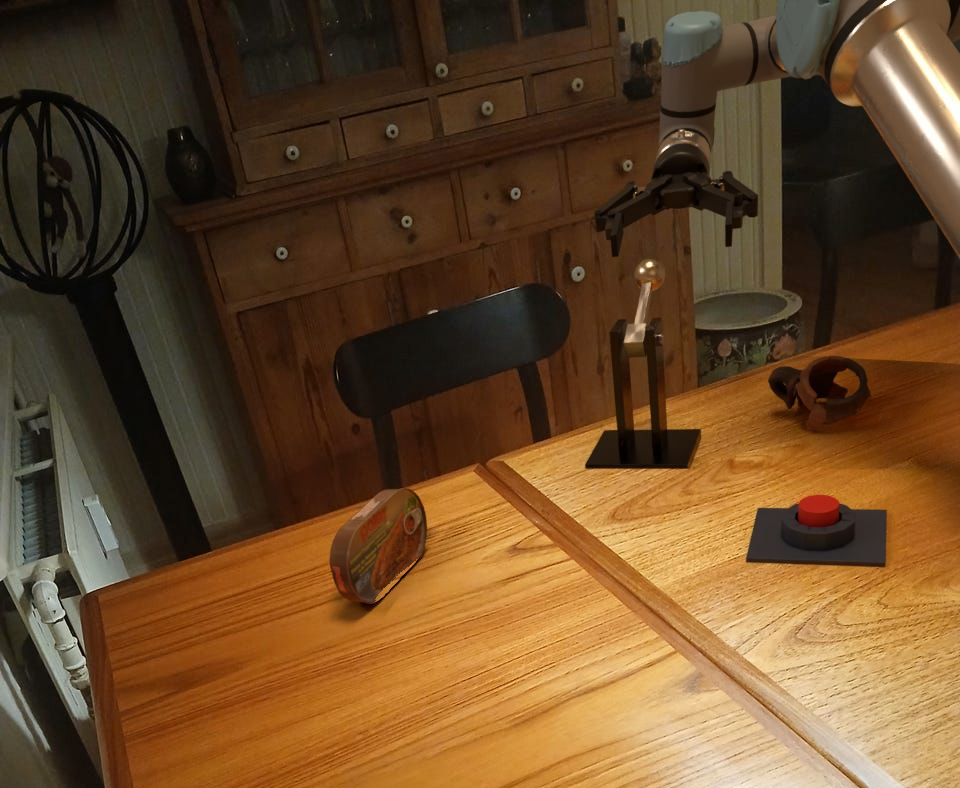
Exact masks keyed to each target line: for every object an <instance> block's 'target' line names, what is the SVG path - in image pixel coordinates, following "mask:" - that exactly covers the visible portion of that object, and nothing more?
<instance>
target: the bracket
mask: <svg viewBox="0 0 960 788" xmlns="http://www.w3.org/2000/svg"><path fill="white" fill-rule="evenodd" d="M662 320H663V319H662V317H661V316H658V317H652V319H651V320H650V322H649V324H648V325H647V329H646V331H645V333H646V350H647V355H646V363H647V364H646V365H647V381H648V383H647V384H648V397H649V413H650V415H649V416H650V429H635V422H634V421H635V420H634V406H633V393H632V379H631V363H630V358H627V356H626V351H625V347H624V338H625V333H626V328H627V324H628V319H627V318H619V319H617V320H616V322H615V323H614V325H612V327H611V329H610V330H609V332H608V333H609V339H608V345H609V348H610V357H611V358H610V359H611V370H612V381H613V395H614V406H615V408H614V409H615V420H616V421H615V422H616V429H604V430H603V431H602V433H601V435H600V437H599V439H598V440H597V442H596V444H595V446H594V448H593V450H592V451H591V453H590V455H589V456H588V459H587V460H586V462H585V464H584V469H585V470H690V468H691V466H692V463H693V461H694V458H695V456H696V452H697V450H698V447H699V445H700V442H701V439H702V429H701V428H677V429H676V428H673V429H672V428H670V429H668V418H667V417H668V414H667V399H666V398H667V397H666V394H667V393H666V378H665V375H666V374H665V357H664V355H665V354H664V345H665V333H664V332H663V321H662Z"/></svg>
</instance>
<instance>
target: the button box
mask: <svg viewBox="0 0 960 788" xmlns="http://www.w3.org/2000/svg"><path fill="white" fill-rule="evenodd" d="M839 504H840V505H839V520H838V522H837V524H835V525H832V526H827V527H808V526H805V525H802V524H800V523H799V522H798V505H799V502H798V503H794V504H792V505H791V506H789V507H757V509H756V514H755V518H754V523H753V526H752V532H751V535H750V539H749V544H748V547H747V553H746V557H745V563H754V564H755V563H756V564H783V565H785V564H786V565H813V566H840V567H841V566H842V567H843V566H844V567H845V566H847V567H870V568H871V567H873V568H885V567H886V562H887V561H886V560H887V559H886V557H887V515H888V510H887V509H874V508H873V509H872V508H871V509H869V508H868V509H867V508H864V509H862V508H861V509H860V508H851V507H849V506H848V505H846V504H844V503H840V502H839Z"/></svg>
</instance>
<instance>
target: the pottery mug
mask: <svg viewBox="0 0 960 788" xmlns="http://www.w3.org/2000/svg"><path fill="white" fill-rule="evenodd" d="M846 370H850V371H851V372H853V373H854V374H855V376H856V377H857V378H858V380H859V387H858V388H857V390H856V391H855V392H854V393H852V394H851V395H848V396H847V394H848V392H849V389H848V388H847V387H845V386H843V385H841V384H839V383H837V382H835V378H836V376H837V375H838V374H839V373H842V372H845V371H846ZM868 382H869V379H868V375H867V373H866V370H865V368H864V367H863V366H862V365H861V364H860V363H859V362H857V361H855V360H853V359H851V358H848V357H844V356H840V355H829V356H828V355H827V356H826V355H825V356H822V357H819V358H816V359H814V360H813V361H811V362H810V363H809V364H808V365H807V366H806V367H805V368H804V369H798V368H795V367H792V366H789V365H788V366H787V365H786V366H785V365H781V366H778V367H776V368H773V370H772V371H771V373H770V375H769V377H768V380H767V383H768V385H769V388H770V390H771V392H772V393H773V394H774V395H775V396H776V397H777V398H779V399H780V400H781V401H783V402H784V404H785V406H786V408H787V410H792V408H793V407H794V406H795V404H796V400H797V407H798V408H802V407H803V406H805V407H806V408H807V410H809V411H810V413H809V417H808V419H807V420H806V422H805V423H806V428H808V429H810V430H812V431H813V432H820V430H821V429H823V428H824V426H830V425H832V424H836V423H839V422H841V421H844V420H847V419H849V418H851V417H853V416H855V415H857V414H858V410H862V409H863V407H864V406H865V405H866V403H867V401H868V399H870V398H871V397H872V394H871V390H870V388H869V385H868ZM819 399H825V405H823V404H820V403H819V402H817V400H819Z"/></svg>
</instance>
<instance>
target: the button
mask: <svg viewBox="0 0 960 788" xmlns="http://www.w3.org/2000/svg"><path fill="white" fill-rule="evenodd" d="M798 503H799V505H798V522H799V523H800V524H802V525H805V526H808V527H827V526H832V525H835V524H837V522H838V520H839V505H840V504H841V503H840V501H839V500H838V499H837V498H836V497H834V496H831V495H829V494H828V495H827V494H812V495H807V496H805V497H803V498H801V499H800V500H799V501H798ZM839 503H840V504H839Z"/></svg>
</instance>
